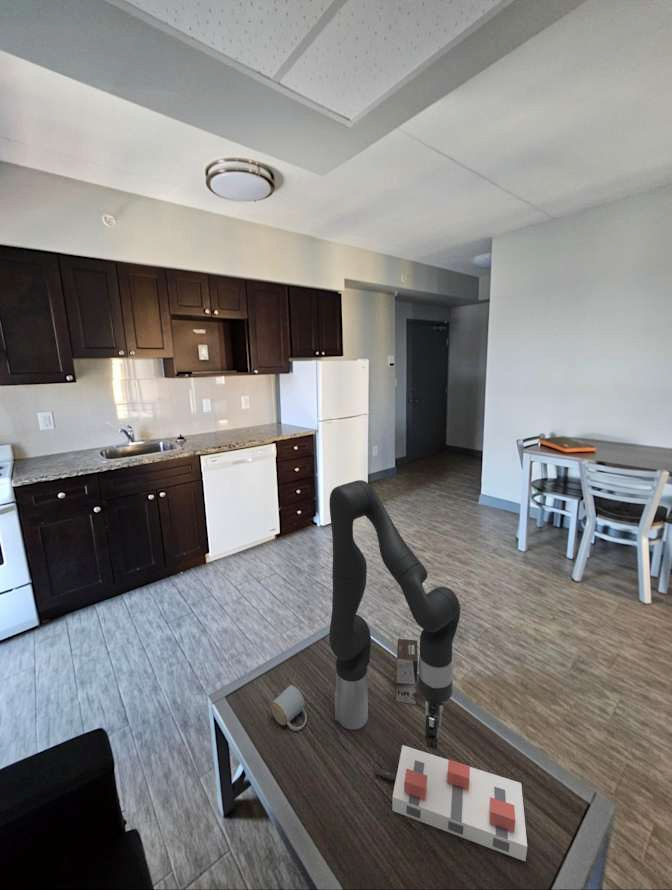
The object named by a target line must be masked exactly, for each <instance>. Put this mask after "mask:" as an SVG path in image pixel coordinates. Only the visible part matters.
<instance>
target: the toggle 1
mask: <svg viewBox="0 0 672 890" xmlns="http://www.w3.org/2000/svg"><path fill="white" fill-rule="evenodd" d="M426 791H427V775H424V774H421V773H418V772H415V771H412V770H409V769H406V775H405V780H404V792H405V793H407V794H410V795H413V796H416V797H418V798H421V799H424V800H425V799H426Z"/></svg>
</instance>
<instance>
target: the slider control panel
mask: <svg viewBox="0 0 672 890" xmlns="http://www.w3.org/2000/svg"><path fill="white" fill-rule="evenodd" d="M448 760H449V759H447V758H444V757H440V756H438V755H435V754H432V753H428V752H425V751H422V750H419V749H416V748H413V747H410V746H406V745H404V744H402V745H401V751H400V755H399V761H398V766H397V767H398V768H397V772H396V774H395V773H392V772H391V771H386V770H384V769H382V768H378V767H376V766H375V767H374V771H373V772H374V774H376V775H377V776H381V777H384V778H388V779H389V780H393V781H395V782H394V787H393V793H392V806H391V808H392V812H394V813H397V814H399V815H403V816H406V817H408V818H410V819H413V820H416V821H417V822H421V823H424V824H426V825H427V826H432V827H434V828H436V829H439V830H442V831H445V832H446V833H449V834H452V835H455V836H457V837H460V838H463V839H465V840H468V841H471V842H474V843H476V844H479V845H481V846H483V847H486V848H489V849H491V850H494V851H496V852H499V853H502V854H505V855H507V856H509V857H512V858H515V859H517V860H520V861H521V862H522V861H523V862H526V861H527V853H528V852H527V851H528V840H527V839H528V838H527V830H526V819H525V818H526V817H525V809H524V799H523V797H524V796H523V788H522V783H521V782H519V781H515V780H512V779H510V778H506V777H503V776H501V775H498V774H497V775H496V774H495V773H494V774H493V773H491V772H487V771H485V770H481V769H478V768H475V767H471V766H470V779H469V790H468V789H465V788H462V787H459V786H456V785H453V784H450V783H447V775H448ZM406 769H409V770H412V771H415V772H418V773H421V774H424V775H427V791H426V799H425V800H424V799H421V798H418V797H416V796H413V795H410V794H407V793H405V792H404V780H405V775H406ZM490 797H492V798H495V799H498V800H501V801H503V802H506V803H509V804H512V805H514V808H515V828H514V832H512V831H510V830H507V829H504V828H501V827H499V826H496V825H493V824H490V823H489V804H490Z"/></svg>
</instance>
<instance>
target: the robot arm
mask: <svg viewBox="0 0 672 890" xmlns="http://www.w3.org/2000/svg"><path fill="white" fill-rule="evenodd" d="M328 503H329V514H330V515H329V516H330V524H331V525H330V526H331V537H332V538H331V539H332V566H331V567H332V568H331V569H332V570H331V571H332V573H331V574H332V575H331V576H332V577H331V579H332V602H331V603H332V605H331V606H332V608H331V617H330V618H331V619H330V626H329V634H328V635H329V636H328V638H329V639H328V640H329V646H330V649H331V650H332V651H331V652H332V653H333V654H334V656H335V657H336V661H335V673H336V674H335V675H336V676H335V680H336V690H335V692H334V696H333V697H334V718H335V721H337V722H338V723H340V725H341V726H342V727H343V728H344V729H347V730H350V731H351V730H352V731H355V730H359V729H362V728H363V727H364V726H365V725H366V724H367V722H368V719H369V716H368V715H369V708H368V707H369V706H368V705H369V704H368V703H369V700H368V698H369V697H368V695H369V694H368V693H369V692H368V689H369V688H368V687H369V686H368V683H369V682H368V666H369V664H370V660H371V648H372V647H371V645H372V643H371V642H372V638H371V636H372V635H371V630H370V627H369V624H368V623H367V621H366V620H365V619H364V618H363V617H362V616H360V615H359V614H357V612H358V610H359V607H360V604H361V602H362V599H363V596H364V594H365V591H366V586H367V574H368V573H367V571H368V568H367V567H368V565H367V559H366V558H365V556H364V554H363V552H362V551H361V549H360V547H359V546H358V545H357V543H356V541H355V539H354V532H353V531H354V530H353V528H354V521H355V520H357V519H359V518H362V517H364V516H365V517H366V518H367V519H368V520H369V522H370V523H371V525H372V526H373V528H374V531H376V536H377V541H378V547H379V553H380V556H381V560H382V562H383V563H384V566H385V567H386V569H387V571H388V572H389V573H390V575H391V576H392V577H393V579H394V580H395V582H396V583H397V584H398V585H399V587H400V589H401V591H402V593H403V596H404V598H405V601H406V603H407V605H408V608H409V611H410V613H411V615H412V618H413V620H415V621H414V622H415V623H417V625H418V626H419V627H420V628H421V629H422V631H421V632H420V636H419V655H418V668H417V687H418V690H419V694H421V695H422V697H423V698H424V699H425V700H424V701H425V703H424V706H425V715H424V716H425V717H424V721H425V729H424V731H425V734H424V741H426V746H427V748H428V749H431V750H434V751H435V750H438V743H439V741H438V740H439V739H438V738H439V735H440V734H439V727H440V726H441V724H442V715H443V714H442V713H443V711H444V703H445V702H447V701H449V700H450V698H451V697H452V695H453V687H454V686H453V685H454V684H453V681H454V680H453V679H454V678H453V677H454V664H453V643H454V642H453V641H454V638H455V636H456V633H457V628H458V625H459V621H460V618H461V617H460V616H461V605H460V602H459V601H460V600H459V599H458V596H457V594H456V593H455V592H454V591H453V590H452V589H451V588H449V587H446V586H437V587H435V588H434V589H432V590H431V591H429V592H428V593H426V591H425V588H424V586H423V583H424V582H425V581H426V580H427V578H428V571H427V569H426V568H425V566H424V564H423V563H422V562H421V561H420V559H419V558H418V557H417V556H416V555H415V553H414V551H412V550H411V548H410V547H409V546H408V544H407V543H406V541H405V540H404V538H403V537H402V535H401V534H400V532H399V531H398V529H397V527H396V525H395V524H394V522H393V521H392V518H391V516H390V515H389V513H388V511H387V510H386V507H385V506H384V504H383V502H382V501H381V499H380V497H379V496H378V494H377V493H376V491H375V489H374V488H373V487H372V486H371V484H370V483H368V482H367V481H366V480H363V479H359V480H354V481H350V482H348V483H344V484H341V485H338V486H336V487H333V488H332V490H331V491H330V495H329V502H328Z"/></svg>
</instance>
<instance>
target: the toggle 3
mask: <svg viewBox="0 0 672 890" xmlns="http://www.w3.org/2000/svg"><path fill="white" fill-rule="evenodd" d="M489 823H490V824H493V825H496V826H499V827H501V828H504V829H507V830H510V831H512V832H514V828H515V808H514V805H512V804H509V803H506V802H503V801H501V800H498V799H495V798H492V797H490V804H489Z"/></svg>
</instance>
